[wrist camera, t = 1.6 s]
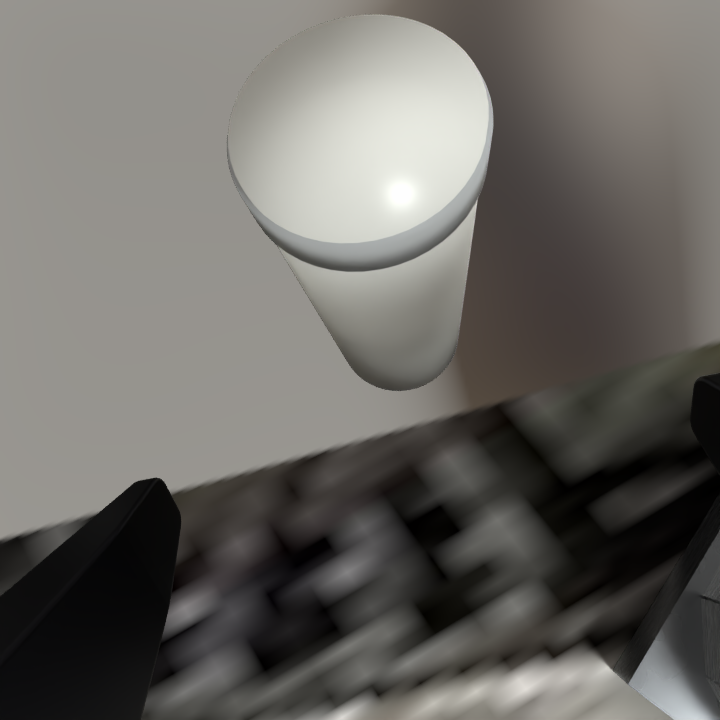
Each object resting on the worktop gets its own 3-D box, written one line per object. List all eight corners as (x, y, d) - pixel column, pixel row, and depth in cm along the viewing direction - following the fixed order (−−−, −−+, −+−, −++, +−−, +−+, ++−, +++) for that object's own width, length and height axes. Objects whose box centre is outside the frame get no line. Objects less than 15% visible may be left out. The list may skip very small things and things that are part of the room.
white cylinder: (413, 418, 21) (384, 295, 9) (314, 348, 23) (170, 159, 10) (485, 317, 22) (550, 75, 10) (385, 256, 23) (329, -24, 11)
